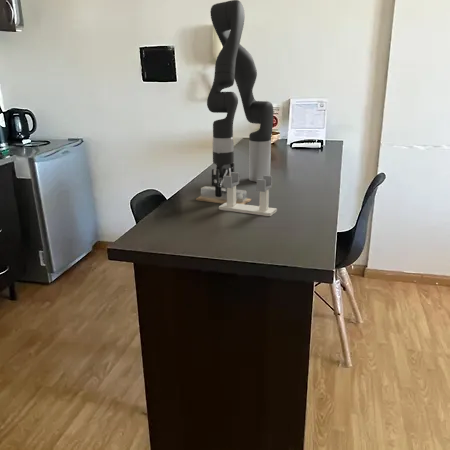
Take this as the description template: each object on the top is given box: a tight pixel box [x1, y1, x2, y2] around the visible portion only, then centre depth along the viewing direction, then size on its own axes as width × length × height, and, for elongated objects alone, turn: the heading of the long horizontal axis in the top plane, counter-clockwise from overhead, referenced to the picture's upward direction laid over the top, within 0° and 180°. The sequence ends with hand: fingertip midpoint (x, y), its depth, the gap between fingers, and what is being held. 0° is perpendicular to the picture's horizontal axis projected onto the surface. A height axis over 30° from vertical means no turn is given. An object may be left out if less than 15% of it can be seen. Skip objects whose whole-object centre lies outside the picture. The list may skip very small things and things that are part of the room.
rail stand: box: [218, 171, 278, 217], centre depth 153 cm, size 7×19×12 cm, turn 64°
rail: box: [200, 185, 248, 202], centre depth 167 cm, size 4×17×4 cm, turn 65°
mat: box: [195, 195, 252, 205], centre depth 167 cm, size 8×19×1 cm, turn 64°
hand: (223, 193), depth 167 cm, fingers open, 8 cm apart
